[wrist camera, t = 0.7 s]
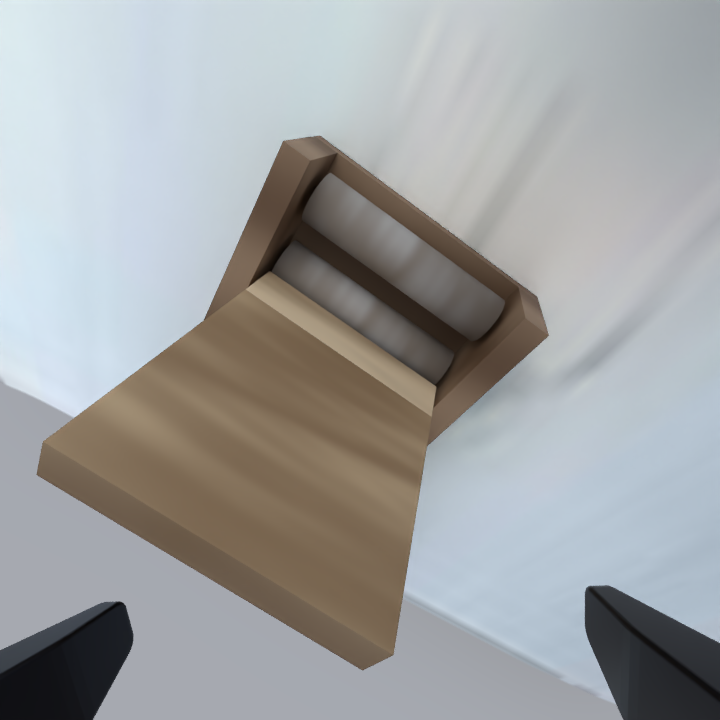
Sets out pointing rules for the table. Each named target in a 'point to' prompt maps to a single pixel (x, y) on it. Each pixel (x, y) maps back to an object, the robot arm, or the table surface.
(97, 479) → the slab
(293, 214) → the roller track
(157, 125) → the table surface
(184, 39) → the table surface
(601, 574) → the table surface
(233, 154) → the table surface
